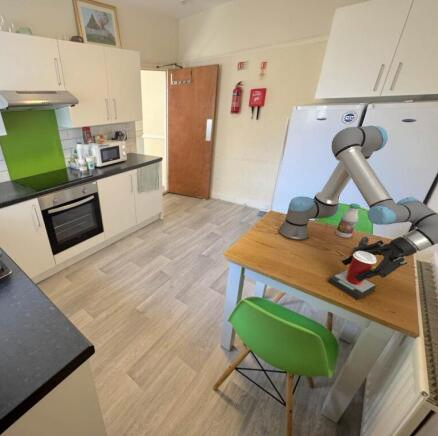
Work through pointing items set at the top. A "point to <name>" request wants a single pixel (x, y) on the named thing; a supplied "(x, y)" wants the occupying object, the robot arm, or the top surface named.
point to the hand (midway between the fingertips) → (349, 270)
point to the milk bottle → (348, 221)
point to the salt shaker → (361, 243)
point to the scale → (351, 285)
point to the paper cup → (359, 266)
